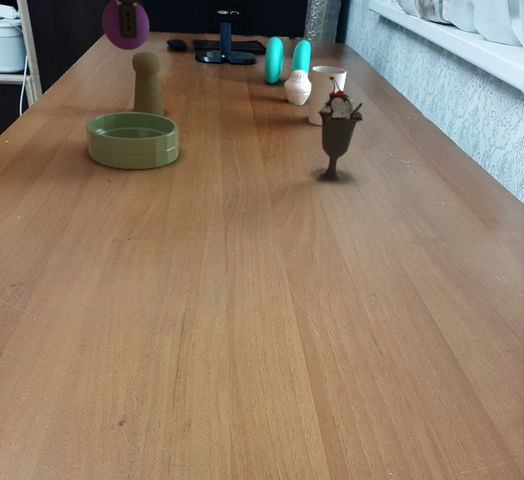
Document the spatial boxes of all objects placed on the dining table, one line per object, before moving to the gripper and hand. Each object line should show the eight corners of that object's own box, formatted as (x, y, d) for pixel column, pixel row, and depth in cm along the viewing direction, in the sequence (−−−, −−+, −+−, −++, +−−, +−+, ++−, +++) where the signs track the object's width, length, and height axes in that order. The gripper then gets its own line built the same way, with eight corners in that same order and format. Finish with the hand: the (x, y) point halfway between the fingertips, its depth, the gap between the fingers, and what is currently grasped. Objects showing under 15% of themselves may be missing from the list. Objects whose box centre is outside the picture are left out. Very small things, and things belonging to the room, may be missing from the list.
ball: (121, 56, 78) (118, 1, 74) (95, 47, 81) (90, -6, 77) (159, 52, 82) (157, 0, 78) (132, 43, 85) (129, -7, 81)
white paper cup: (334, 130, 112) (342, 75, 106) (302, 125, 114) (308, 70, 108) (341, 122, 117) (349, 69, 111) (310, 116, 119) (317, 64, 113)
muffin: (279, 104, 125) (282, 69, 120) (287, 98, 129) (290, 64, 125) (306, 108, 123) (310, 73, 119) (313, 102, 128) (317, 68, 124)
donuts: (303, 91, 135) (308, 44, 129) (262, 86, 136) (265, 39, 130) (307, 82, 143) (312, 37, 137) (268, 77, 144) (271, 33, 138)
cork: (167, 119, 110) (165, 56, 104) (136, 120, 108) (132, 56, 102) (160, 110, 115) (158, 49, 108) (130, 111, 113) (126, 49, 106)
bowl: (124, 179, 85) (121, 145, 82) (72, 152, 93) (68, 120, 90) (196, 160, 94) (196, 129, 91) (143, 136, 101) (141, 107, 98)
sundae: (302, 172, 93) (314, 72, 84) (339, 170, 95) (354, 72, 86) (319, 188, 88) (334, 84, 79) (358, 185, 90) (376, 83, 81)
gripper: (82, -123, 74) (96, 23, 84) (86, -125, 63) (101, 42, 74) (140, -117, 76) (147, 25, 86) (154, -119, 65) (160, 44, 76)
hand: (126, 32), depth 80 cm, fingers closed on ball, 6 cm apart
